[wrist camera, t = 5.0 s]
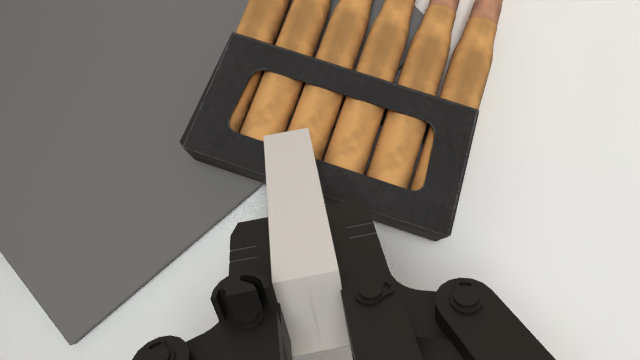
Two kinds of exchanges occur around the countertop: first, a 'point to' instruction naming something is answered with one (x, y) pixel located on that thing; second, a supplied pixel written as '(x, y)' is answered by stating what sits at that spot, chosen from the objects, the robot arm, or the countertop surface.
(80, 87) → the rubber mat
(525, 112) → the countertop surface
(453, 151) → the ammunition clip
